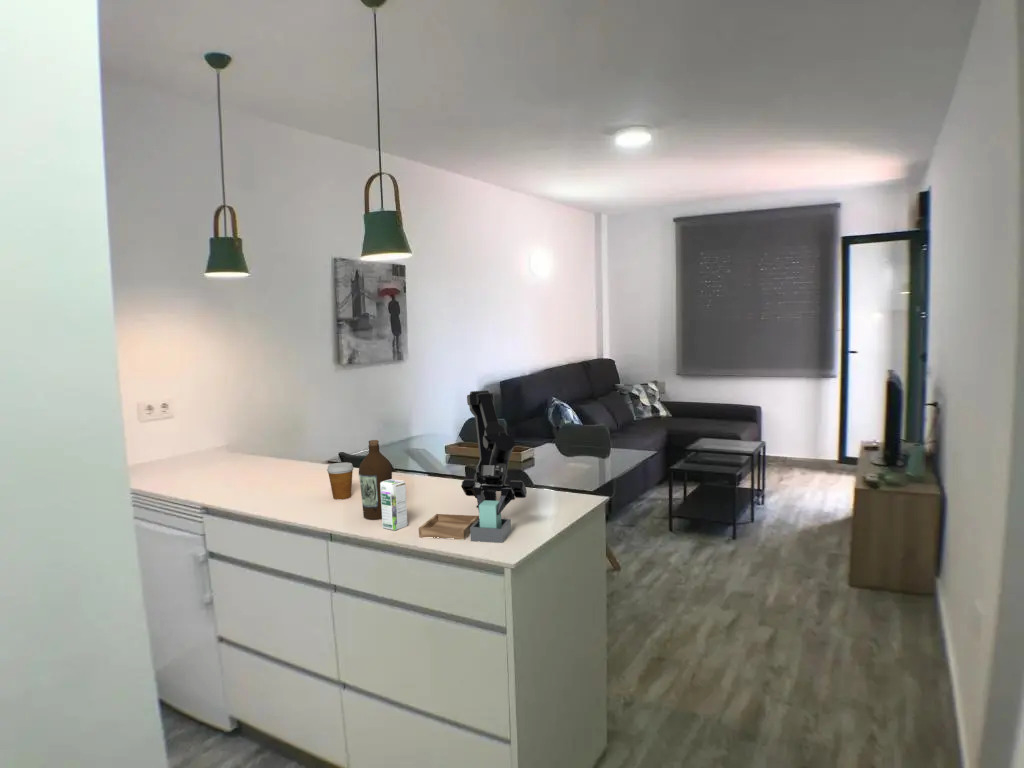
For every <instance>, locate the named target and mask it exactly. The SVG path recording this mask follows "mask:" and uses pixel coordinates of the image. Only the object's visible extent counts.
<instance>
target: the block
mask: <svg viewBox="0 0 1024 768" xmlns="http://www.w3.org/2000/svg"><path fill="white" fill-rule="evenodd" d="M499 501H500V500H497V501H488V500H484V501H483V502H482V503H481V504H480V505H479V509H478V516H479V519H480V527H486V528H501V527H502V522H501V519H502V512H501V513H500V514H499V515H497V508H498V504H499Z"/></svg>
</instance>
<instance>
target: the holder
mask: <svg viewBox="0 0 1024 768" xmlns="http://www.w3.org/2000/svg"><path fill="white" fill-rule="evenodd" d="M501 522H502V527H501V528H486V527H480V518H479V519H478V520H477V521H476V522H475V523H474V524H473V525H472V526H471V527H470V534H469V536H470V542H478V541H480V542H482V543H497V544H502V543H503V542H504V541H505V540H506V539H507V537H509V536H510V534H511V533H512V519H511V518H501ZM480 542H479V543H480Z"/></svg>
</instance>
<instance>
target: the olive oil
mask: <svg viewBox="0 0 1024 768" xmlns="http://www.w3.org/2000/svg"><path fill="white" fill-rule="evenodd" d="M358 478H359V484H360V485H359V486H360V493H361V494H360V495H361V503H362V514H363V515H362V516H363V518H364V519H365V518H366V520H370V521H371V520H372V521H374V520H376V521H377V520H382V507H381V490H380V483H381V482H383V481H385V480H390V479H393V468H392V464H391V462H390V460H389V459H388V458H387V457H386V456H384V454H382V453H381V451H380V444H379V440H378V439H371V440H369V441H368V453H367V455H366V456H365V457H364V458H363V459H362V461H361V462H360V464H359V466H358Z"/></svg>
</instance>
